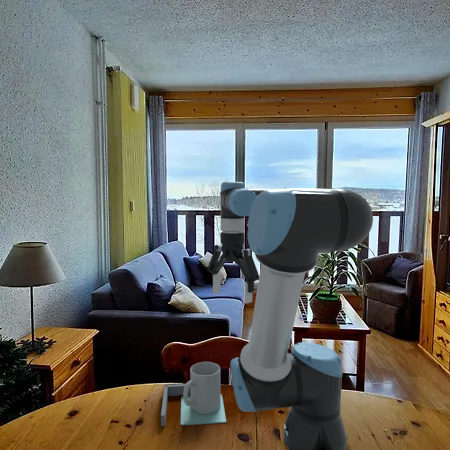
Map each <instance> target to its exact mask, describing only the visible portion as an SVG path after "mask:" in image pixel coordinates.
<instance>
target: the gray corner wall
mask: <svg viewBox="0 0 450 450" xmlns="http://www.w3.org/2000/svg"><path fill="white" fill-rule="evenodd" d="M185 384H186V383H182V384H181V383H179V384H177V383H175V384H164V387H163V394H162V404H161V411H160V427H165V426H166V419H167V412H168V411H167V409H168V408H167V407H168V400H169V399H168V397H179V395H183V391H184V387H185ZM188 396H191V394H190V388H189V391H188Z"/></svg>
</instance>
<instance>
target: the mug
mask: <svg viewBox="0 0 450 450" xmlns="http://www.w3.org/2000/svg"><path fill="white" fill-rule="evenodd" d="M189 371H190V372H189V374H190V375H189V376H190V380H188V381H187V382H186V383H184V384H185V387H184V391H183V399H184V403H185V404H186V405H187V406H191V409H192V410H193V411H194V412H196V413H198V414H212V413H214V412H216V411H217V410H218V409H219V408H220V405H221V397H220V394H221V367H220V365H219V364H217V363H214V362H211V361H202V362H197V363H195V364H193V365H191V367H190V369H189ZM189 388H190V394H191V395H190V396H191V398H190V400H188V396H189V395H188V391H189Z"/></svg>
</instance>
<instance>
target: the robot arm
mask: <svg viewBox="0 0 450 450" xmlns="http://www.w3.org/2000/svg"><path fill="white" fill-rule="evenodd" d="M245 185H246V184H245V183H244V182H242V181H224V182H222V183H221V185H220V192H219V194H220V231H221V232H220V233H219V235H220V236H219V237H220V238H219V239H220V241H219V242H220V244H214V246H213V253H212V256H211V257H210V261H209V263H208V265H207V268H206V269H207V272H210V273H211V283H212V295H217V294H218V295H219V294H221V277H222V276H221V273H220V272H221V270H222V268H223V267H224V266H225V264H226V262H227V261H228V262H233V263H235V264H236V265H237V266H238V268H239V270H240V271H241V273H242V275H243V276H244V278H245V280H246V281H244V304H250V303H252V302H253V293H254V292H255V282H257V281H258V282H257V288H256V294H255V295H256V296H255V301H254V303H255V304H254V308H253V316H252V321H251V329H250V335H249V342H248V343H246V345H244V346H243V348H242V349H241V352H240V357H239V356H238V357H236V356H235V358H232V359H231V360H230V365H229V367H230V377H231V382H232V387H233V392H234V397H235V398H234V399H235V401H236V402H235V403H236V404H237V407H238V408H239V410H241V412H245V413H246V412H249V413H250V412H254V413H257V412H261V411H269V410H275V409H283V408H290V409H289V412H288V414H287V416H286V420H285V421H284V424H283V435H282V436H283V441H284V444H285V446H286V447H287V448H288V449H289V450H347V448H348V437H347V436H348V435H347V432H346V428H345V425H344V421H343V418H342V415H341V404H342V378H343V373H344V372H343V365H342V363H343V362H342V359H341V356H340V355H339V354H338V353H337V352H336V351H334V349H331V348H329V347H328V346H325V345H321V344H319V343H314V342H308V341H307V342H306V341H303V342H297V343H295V344H293V346H292V348H291V352H290V353H289V349H290V342H291V340H292V339H291V338H292V333H293V329H294V325H295V321H296V317H297V312H298V307H299V303H300V298H301V293H302V288H303V285H304V281H305V277H306V276H305V275H306V273H308V272H311V271H312V270H313V269H314V268H315V266H316V263H317V260H318V258H319V257H318V256H319V254H320V253H329V252H330V253H334V252H343V251H348V250H351V249H353V248H355V247H357V246H358V245H360V244H361V243H362V242H363V241H364V240H365V239H366V238H368V236H369V234H370V233H371V230H372V227H373V223H374V213H373V210H372V207H371V205H370V204H369V201H367V199H366V198H365V197H363V196H362V195H361V194H359V193H358V192H355V191H352V190H349V189H343V188H290V187H281V188H247V187H246V186H245ZM245 217H248V220H247V228H248V229H247V240H248V241H247V242H248V246H249V248H247V249H245V248H244V244H245V232H244V231H245ZM253 254H254V255H255V259H256V260H257V262H258V263H259V264H260V269H259V272H258V269H257V267H256V263H255V261H254V257H253Z"/></svg>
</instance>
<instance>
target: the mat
mask: <svg viewBox="0 0 450 450" xmlns="http://www.w3.org/2000/svg"><path fill="white" fill-rule="evenodd" d="M180 397H181V398H180V400H181V401H180V426H191V425H209V424H212V425H213V424H225V423H227V418H226V411H225V406H224V398H223V394H222V393H220V397H221V405H220V408H219V409H218V410H217V411H216V412H214V413H212V414H198V413H196V412H194V411H193V410H192V409H191V406H187V405H186V404H185V403H184V399H183V396H180ZM190 398H191V395H188V400H190Z"/></svg>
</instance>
